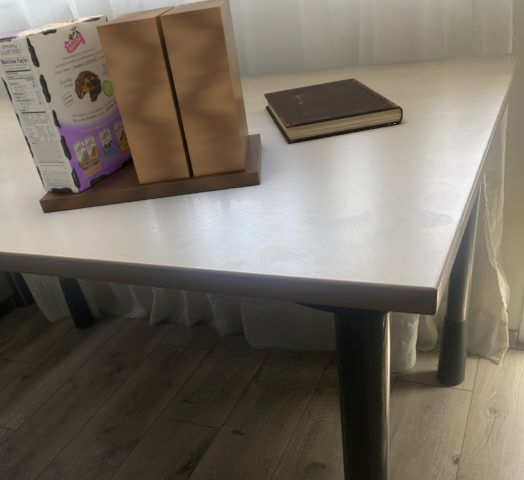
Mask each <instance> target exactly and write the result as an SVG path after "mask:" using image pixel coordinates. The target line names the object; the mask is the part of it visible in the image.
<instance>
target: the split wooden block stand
mask: <svg viewBox="0 0 524 480" xmlns="http://www.w3.org/2000/svg"><path fill="white" fill-rule="evenodd" d="M231 10H232V9H231V4H230V0H201V1H195V2H188V3H181V4H178V5H177V6H175V5H171V6H165V7H159V8H153V9H147V10H139V11H134V12H128V13H125V14H122V15H120V16H118V17H115V18H113V19H110V20H108V21H107V22H105V23H103V24H100V25H98V26H96V28H97V32H98V35H99V39H100V43H101V46H102V50H103V53H104V57H105V61H106V64H107V68H108V71H109V75H110V79H111V82H112V86H113V89H114V93H115V97H116V100H117V104H118V107H119V111H120V115H121V118H122V122H123V125H124V129H125V133H126V136H127V140H128V143H129V147H130V151H131V154H132V158H133V160H132V161H130V162H129V163H127V164H126V165H124V166H122V167H121V168H119V169H118V170H116V171H114V172H113V173H111V174H109V175H108V176H106V177H104V178H103V179H102V180H100V181H98V182H96V183H95V184H93V185H92V186H90V187H89V188H87V189H85V190H84V191H82V192H79V193H70V192H52V191H46V192H45V194H44V195H43V196H42V197H41V198H40V199H39V201H38V202H39V204H40V207H41V210H42V212H43V213H53V212H60V211H67V210H76V209H83V208H89V207H91V208H92V207H98V206H104V205H105V206H107V205H113V204H120V203H128V202H129V203H130V202H134V201H135V202H136V201H137V202H138V201H143V200H150V199H151V200H152V199H158V198H167V197H172V196H173V197H175V196H180V195H182V196H183V195H190V194H197V193H205V192H212V191H219V190H226V189H233V188H235V189H236V188H242V187H249V186H256V185H261V170H262V169H261V165H262V138H261V133H253V134H249V127H248V121H247V113H246V106H245V100H244V93H243V86H242V79H241V71H240V66H239V58H238V51H237V45H236V38H235V31H234V24H233V19H232V18H233V16H232V13H231V12H232V11H231Z"/></svg>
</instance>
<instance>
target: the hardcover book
mask: <svg viewBox="0 0 524 480" xmlns="http://www.w3.org/2000/svg"><path fill="white" fill-rule="evenodd" d="M263 96H264V98H265V100H266V102H267V105H266V106H265V109H266V110H267V113H268V114H269V115H270V117H271V118H272V120H273V122H274V124H276V126H277V128H278V130H279V132H280V133H281V134H282V136H283V137H284V139H285V141H286V142H287V144H293V143H294V144H295V143H298V142H305V141H310V140H316V139H322V138H328V137H333V136H339V135H344V134H349V133H350V134H351V133H355V132H361V130H362V131H366V130H365V129H367V130H371V129H370V128H373V129H375V128H374V127H379V126H384V125H389V124H394V123H399V124H401V122H402V121H403V117H404V110H403V107H402V106H400V105H398V104H397V103H395V102H393V101H391V100H390V99H388V98H387V97H386V96H384V95H382V94H381V93H379V92H377V91H376V90H374V89H372V88H371V87H369V86H367V85H366V84H364V83H362V82H361V81H359V80H358V79H356V78H355V77H352V78H346V79H341V80H334V81H329V82H324V83H319V84H318V83H317V84H311V85H307V86H301V87H294V88H290V89H283V90H279V91H278V90H277V91H272V92H267V93H264V94H263ZM384 127H385V126H384ZM379 128H380V127H379Z"/></svg>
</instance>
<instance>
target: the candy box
mask: <svg viewBox="0 0 524 480" xmlns="http://www.w3.org/2000/svg"><path fill="white" fill-rule="evenodd" d="M107 21H109V20H108V16H107V15H106V14H105V13H104V14H99V15H89V16H84V17H78V18H72V19H66V20H65V19H64V20H61V21H57V22H52V23H48V24H44V25H39V26H37V27H36V26H35V27H32V28H28V29H24V30H20V31H16V32H13V33H9V34H6V35H2V36H0V78H1V80H2V83H3V85H4V88H5V90H6V93H7V95H8V98H9V101H10V103H11V106H12V108H13V111H14V113H15V116H16V119H17V121H18V124H19V127H20V130H21V132H22V134H23V136H24V140H25V142H26V145H27V147H28V151H29V153H30V155H31V158H32V160H33V163H34V166H35V168H36V170H37V173H38V176H39V178H40V181H41V184H42V186H43V189H44V191H45V192H48V191H52V192H70V193H79V192H82V191H84V190H85V189H87V188H89V187H90V186H92V185H93V184H95V183H96V182H98V181H100V180H102V179H103V178H104V177H106V176H108V175H109V174H111V173H113V172H114V171H116V170H118V169H119V168H121V167H122V166H124V165H126V164H127V163H129V162H130V161H132V160H133V158H132V154H131V151H130V147H129V143H128V140H127V136H126V133H125V129H124V125H123V122H122V118H121V115H120V111H119V107H118V104H117V100H116V97H115V93H114V89H113V86H112V82H111V79H110V75H109V71H108V68H107V64H106V61H105V57H104V53H103V50H102V46H101V43H100V39H99V35H98V32H97V28H96V26H98V25H100V24H103V23H105V22H107Z"/></svg>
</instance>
